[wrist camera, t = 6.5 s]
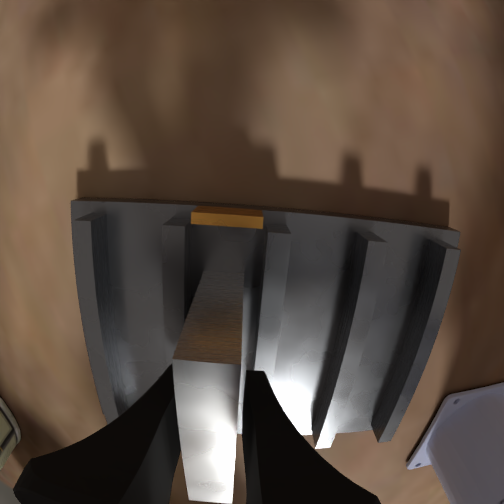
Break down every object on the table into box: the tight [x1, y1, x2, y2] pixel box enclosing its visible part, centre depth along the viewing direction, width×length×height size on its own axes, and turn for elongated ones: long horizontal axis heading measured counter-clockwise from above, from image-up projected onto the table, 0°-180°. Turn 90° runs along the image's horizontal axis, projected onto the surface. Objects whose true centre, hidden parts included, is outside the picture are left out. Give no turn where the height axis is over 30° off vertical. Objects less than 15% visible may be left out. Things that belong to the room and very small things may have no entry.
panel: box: [172, 271, 244, 504], centre depth 11 cm, size 2×7×6 cm, turn 176°
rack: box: [71, 198, 461, 449], centre depth 14 cm, size 17×12×2 cm
